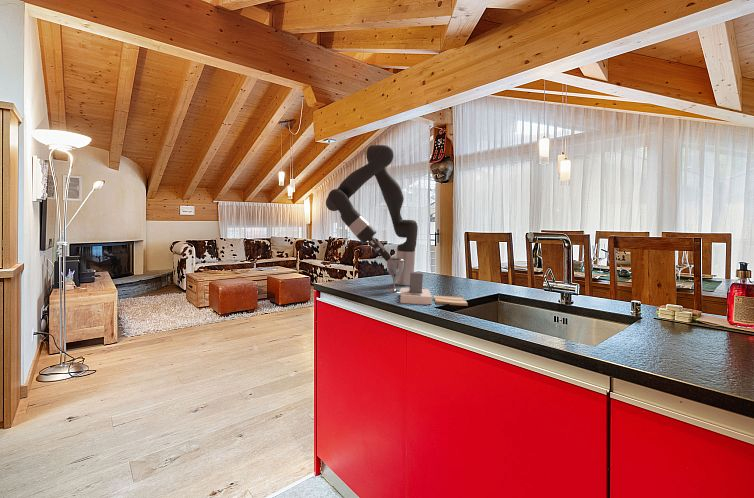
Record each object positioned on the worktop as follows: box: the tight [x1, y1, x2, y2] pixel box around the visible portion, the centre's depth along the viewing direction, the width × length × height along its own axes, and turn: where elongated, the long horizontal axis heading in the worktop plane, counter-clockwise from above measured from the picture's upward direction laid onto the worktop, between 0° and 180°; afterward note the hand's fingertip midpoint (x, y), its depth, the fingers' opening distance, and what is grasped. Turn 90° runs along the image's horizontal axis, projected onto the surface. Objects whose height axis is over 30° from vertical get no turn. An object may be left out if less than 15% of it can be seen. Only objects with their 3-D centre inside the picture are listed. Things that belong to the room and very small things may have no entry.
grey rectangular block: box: [408, 271, 424, 293], centre depth 152 cm, size 4×5×11 cm
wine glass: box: [386, 257, 404, 294], centre depth 169 cm, size 8×8×15 cm
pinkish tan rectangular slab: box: [400, 287, 433, 306], centre depth 153 cm, size 18×12×3 cm, turn 176°
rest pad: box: [433, 295, 469, 307], centre depth 151 cm, size 13×12×1 cm
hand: (389, 258), depth 152 cm, fingers open, 8 cm apart
